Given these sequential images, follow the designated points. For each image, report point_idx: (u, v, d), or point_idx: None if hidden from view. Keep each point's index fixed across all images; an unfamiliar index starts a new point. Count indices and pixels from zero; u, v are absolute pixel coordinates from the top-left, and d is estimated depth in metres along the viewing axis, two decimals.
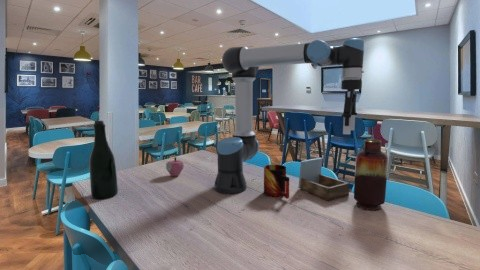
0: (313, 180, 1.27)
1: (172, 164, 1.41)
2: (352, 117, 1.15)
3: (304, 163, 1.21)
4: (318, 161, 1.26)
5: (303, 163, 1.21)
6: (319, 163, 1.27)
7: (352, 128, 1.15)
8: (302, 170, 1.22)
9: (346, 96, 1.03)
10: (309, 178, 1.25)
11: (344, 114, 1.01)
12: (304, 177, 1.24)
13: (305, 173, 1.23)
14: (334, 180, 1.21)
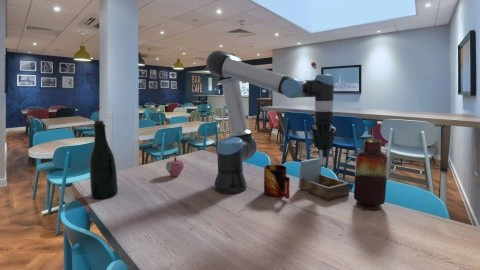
0: (313, 180, 1.27)
1: (172, 164, 1.41)
2: None
3: (304, 163, 1.21)
4: (318, 161, 1.26)
5: (303, 163, 1.21)
6: None
7: None
8: (302, 170, 1.22)
9: (332, 132, 1.12)
10: (309, 178, 1.25)
11: (328, 148, 1.15)
12: (304, 177, 1.24)
13: (305, 173, 1.23)
14: (334, 180, 1.21)
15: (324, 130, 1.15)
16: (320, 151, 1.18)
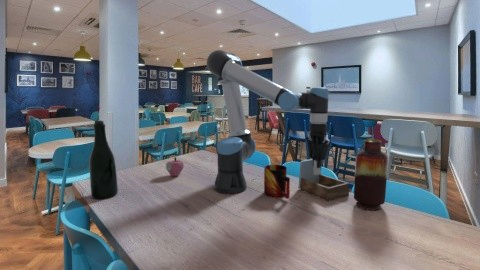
0: (313, 180, 1.27)
1: (172, 164, 1.41)
2: None
3: (303, 162, 1.22)
4: None
5: (303, 163, 1.21)
6: None
7: None
8: (302, 170, 1.22)
9: (326, 144, 1.15)
10: (309, 177, 1.25)
11: (322, 159, 1.18)
12: (304, 177, 1.24)
13: (305, 173, 1.23)
14: (334, 180, 1.21)
15: (318, 142, 1.18)
16: (314, 162, 1.21)
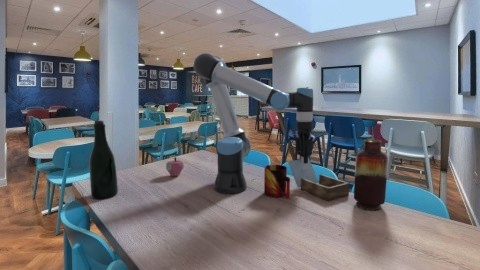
0: (310, 179, 1.29)
1: (172, 164, 1.41)
2: None
3: (291, 162, 1.29)
4: None
5: (291, 162, 1.28)
6: (307, 163, 1.33)
7: None
8: (293, 169, 1.27)
9: (311, 141, 1.22)
10: (304, 176, 1.28)
11: (308, 155, 1.25)
12: (298, 176, 1.27)
13: (297, 172, 1.28)
14: (334, 180, 1.21)
15: (305, 138, 1.25)
16: (302, 158, 1.28)
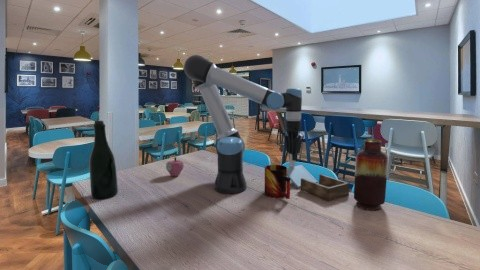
0: (307, 179, 1.30)
1: (172, 164, 1.41)
2: None
3: None
4: (299, 166, 1.38)
5: None
6: (301, 168, 1.37)
7: None
8: (288, 173, 1.31)
9: (299, 139, 1.29)
10: None
11: (296, 152, 1.32)
12: (295, 178, 1.29)
13: (293, 175, 1.31)
14: (334, 180, 1.21)
15: (293, 137, 1.32)
16: (290, 155, 1.35)
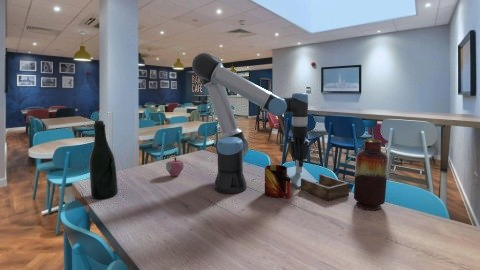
0: (307, 179, 1.30)
1: (172, 164, 1.41)
2: None
3: None
4: None
5: None
6: None
7: None
8: (288, 174, 1.31)
9: (306, 145, 1.26)
10: None
11: (303, 158, 1.28)
12: (295, 178, 1.29)
13: (293, 175, 1.31)
14: (334, 180, 1.21)
15: (299, 143, 1.29)
16: (296, 161, 1.32)
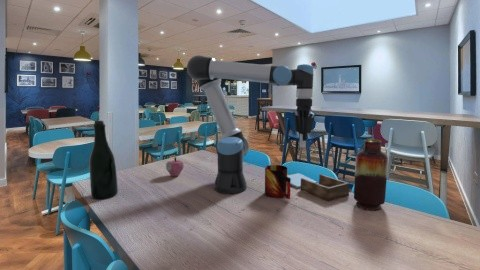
0: None
1: (172, 164, 1.41)
2: None
3: None
4: (296, 174, 1.40)
5: None
6: (299, 175, 1.39)
7: None
8: None
9: (310, 117, 1.23)
10: (299, 181, 1.31)
11: (307, 132, 1.26)
12: (293, 181, 1.30)
13: (291, 180, 1.32)
14: (334, 180, 1.21)
15: (304, 115, 1.26)
16: (300, 135, 1.29)
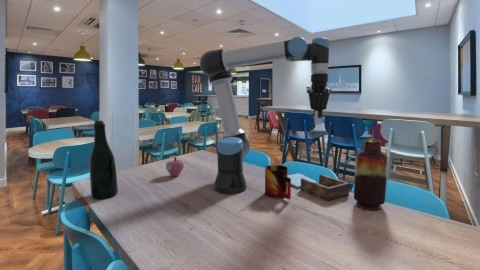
0: None
1: (172, 164, 1.41)
2: None
3: None
4: (296, 174, 1.40)
5: None
6: (299, 175, 1.39)
7: None
8: None
9: (327, 93, 1.20)
10: (299, 181, 1.31)
11: (323, 108, 1.22)
12: (293, 181, 1.30)
13: (291, 180, 1.32)
14: (334, 180, 1.21)
15: (319, 91, 1.22)
16: (315, 112, 1.25)
